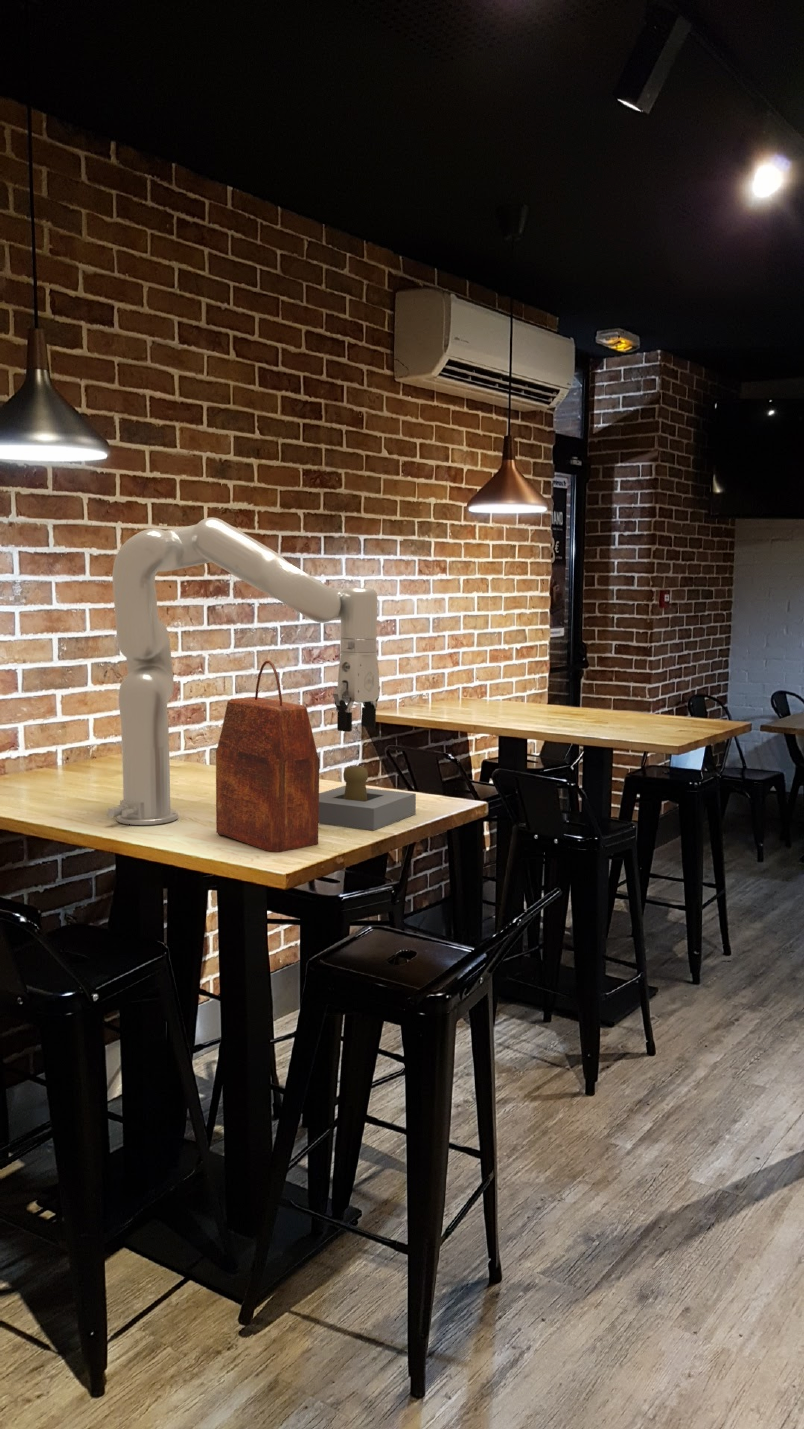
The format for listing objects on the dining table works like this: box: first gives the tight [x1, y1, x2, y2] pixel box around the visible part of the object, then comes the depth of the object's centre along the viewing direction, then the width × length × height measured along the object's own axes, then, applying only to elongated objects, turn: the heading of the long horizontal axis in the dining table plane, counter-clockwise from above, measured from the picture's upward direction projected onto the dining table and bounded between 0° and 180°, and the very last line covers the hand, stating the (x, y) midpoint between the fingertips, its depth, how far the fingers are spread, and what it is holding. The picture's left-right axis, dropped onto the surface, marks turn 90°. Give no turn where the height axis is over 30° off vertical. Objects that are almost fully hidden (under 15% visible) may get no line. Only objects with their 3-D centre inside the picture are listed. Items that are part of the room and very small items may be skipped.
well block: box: [319, 785, 417, 831], centre depth 224 cm, size 18×18×4 cm
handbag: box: [215, 660, 321, 853], centre depth 201 cm, size 10×19×35 cm, turn 43°
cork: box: [342, 765, 369, 802], centre depth 223 cm, size 6×6×11 cm
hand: (356, 728), depth 222 cm, fingers open, 9 cm apart
